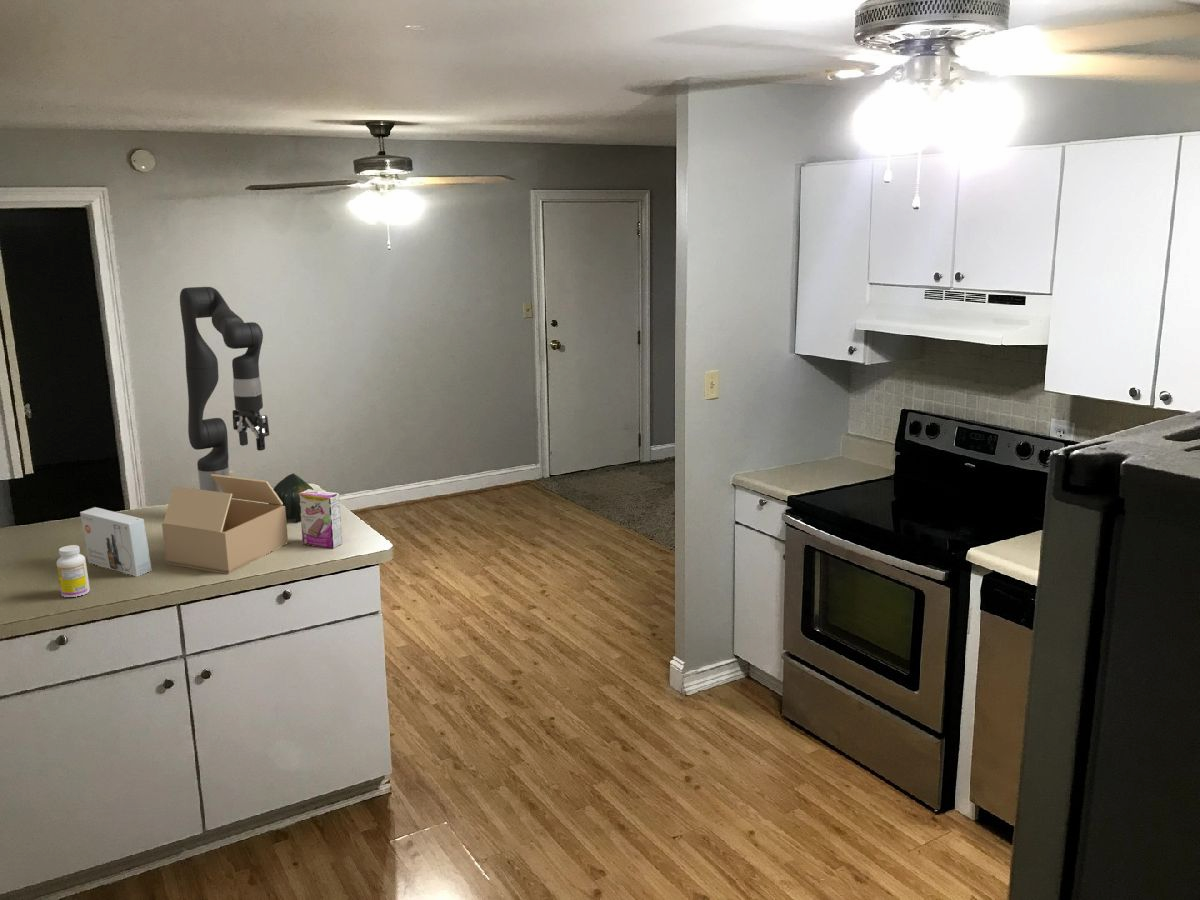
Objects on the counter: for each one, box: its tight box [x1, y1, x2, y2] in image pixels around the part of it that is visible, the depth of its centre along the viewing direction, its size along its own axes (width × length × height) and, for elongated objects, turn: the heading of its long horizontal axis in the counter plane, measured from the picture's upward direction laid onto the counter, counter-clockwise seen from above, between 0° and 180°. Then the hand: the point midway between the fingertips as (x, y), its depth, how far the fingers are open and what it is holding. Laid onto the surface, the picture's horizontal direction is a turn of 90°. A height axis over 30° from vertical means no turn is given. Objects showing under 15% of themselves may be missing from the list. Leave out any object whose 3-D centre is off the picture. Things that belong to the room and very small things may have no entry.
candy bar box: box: [299, 489, 343, 550], centre depth 282 cm, size 11×5×16 cm, turn 71°
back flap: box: [211, 474, 283, 505], centre depth 282 cm, size 20×11×1 cm
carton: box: [161, 498, 289, 575], centre depth 275 cm, size 22×26×12 cm
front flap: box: [162, 485, 232, 532], centre depth 263 cm, size 20×11×1 cm
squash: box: [268, 473, 315, 522], centre depth 308 cm, size 14×15×15 cm
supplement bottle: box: [56, 544, 91, 598], centre depth 246 cm, size 7×7×13 cm
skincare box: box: [79, 506, 153, 577], centre depth 264 cm, size 21×5×16 cm, turn 62°
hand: (252, 447), depth 273 cm, fingers open, 8 cm apart
